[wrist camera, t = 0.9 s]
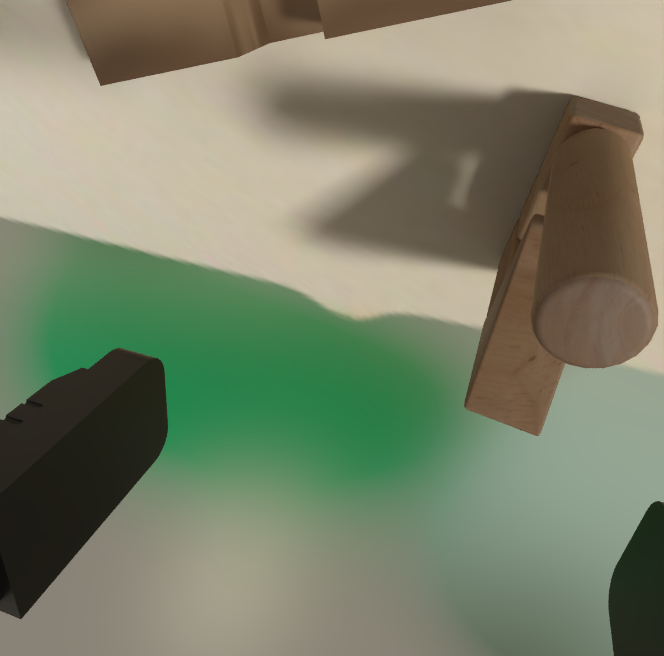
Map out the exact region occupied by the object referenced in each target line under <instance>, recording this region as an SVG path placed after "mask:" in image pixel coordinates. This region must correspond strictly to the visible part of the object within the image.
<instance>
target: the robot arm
mask: <svg viewBox="0 0 664 656" xmlns="http://www.w3.org/2000/svg"><path fill="white" fill-rule="evenodd" d="M167 432H168V418H167V403H166V389H165V373H164V367H163V363H162V362H161V360H159V359H158V358H153V357H151V356H147V355H143V354H140V353H136V352H133V351H129V350H126V349H122V348H117V349H114V350H112V351H111V352H109V353H108V354H107V355H105V356H104V357H103V358H102V359H100V360H99V361H98V362H97V363H95V364H94V365H93V366H92V367H90V368H89V369H85V368H80V369H78V370H76V371H73V372H71V373H69V374H66V375H64V376H62V377H59V378H57V379H54V380H52V381H51V382H49V383H48V384H46V385H45V386H44V387H42V388H41V389H40V390H39V391H37V392H36V393H35V394H33V395H32V396H31V397H30V398H28V399H27V401H26V403H25V404H20V405H19V406H18V407H16V408H15V409H14V410H12V411H11V412H10V413H8V414H7V415H6V418H5V420H0V611H2V612H5V613H7V614H10V615H12V616H15V617H17V618H19V619H21V618H23V616H24V615H25V614H26V613H27V612H28V611H29V609H30V608H31V607H32V606H33V605H34V603H35V602H36V601H37V600H38V599H39V597H40V596H41V595H42V594H43V593H44V592H45V590H46V589H47V588H48V587H49V585H51V583H52V582H53V581H54V580H55V579H56V577H57V576H58V575H59V574H60V573H61V572H62V570H63V569H64V568H65V567H66V566H67V564H68V563H69V562H70V561H71V560H72V559H73V557H74V556H75V555H76V554H77V553H78V551H79V550H80V549H81V548H82V547H83V546H84V544H85V543H86V542H87V541H88V540H89V539H90V537H91V536H92V535H93V534H94V532H95V531H96V530H97V529H98V528H99V527H100V526H101V524H102V523H103V522H104V521H105V520H106V518H107V517H108V516H109V515H110V514H111V513H112V511H113V510H114V509H115V508H116V507H117V505H118V504H119V503H120V502H121V501H122V500H123V498H124V497H125V496H126V495H127V494H128V492H129V491H130V490H131V489H132V488H133V487H134V485H135V484H136V483H137V481H139V479H140V478H141V477H142V476H143V475H144V474H145V472H146V471H147V470H148V469H149V468H150V467H151V465H152V464H153V463H154V462H155V461H156V459H157V458H158V456H159V454H160V453H161V451H162V449H163V446H164V444H165V441H166V437H167ZM608 602H609V617H610V626H611V634H612V642H613V651H614V656H664V503H663V502H660V501H657V502H654V503H653V504H651V505H650V507H649V508H648V510H647V511H646V513H645V515H644V517H643V518H642V520H641V522H640V524H639V526H638V527H637V529H636V531H635V533H634V534H633V536H632V538H631V540H630V542H629V543H628V545H627V547H626V549H625V551H624V552H623V554H622V556H621V558H620V560H619V561H618V563H617V565H616V567H615V569H614V572H613V575H612V579H611V583H610V589H609V601H608Z"/></svg>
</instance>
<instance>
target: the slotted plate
mask: <svg viewBox="0 0 664 656" xmlns="http://www.w3.org/2000/svg"><path fill="white" fill-rule="evenodd" d="M506 1H511V0H66V2H67V5H68V7H69V9H70V12H71V14H72V17H73V19H74V22H75V24H76V27H77V29H78V31H79V34H80V36H81V39H82V41H83V44H84V46H85V49H86V51H87V54H88V56H89V58H90V61H91V63H92V66H93V68H94V71H95V73H96V76H97V78H98V80H99V83H100V85H101V86H102V85H107V84H112V83H116V82H121V81H126V80H131V79H136V78H140V77H145V76H150V75H155V74H160V73H165V72H169V71H174V70H179V69H184V68H189V67H193V66H198V65H203V64H208V63H213V62H217V61H222V60H227V59H232V58H237V57H240V56H242V55H244V54H246V53H249V52H251V51H253V50H255V49H258V48H260V47H262V46H264V45H267V44H269V43H272V42H277V41H281V40H286V39H291V38H295V37H300V36H305V35H309V34H314V33H319V32H323V31H324V36H325V39H328V38H333V37H338V36H342V35H347V34H352V33H357V32H362V31H366V30H371V29H376V28H381V27H386V26H391V25H395V24H400V23H405V22H410V21H415V20H419V19H424V18H429V17H434V16H439V15H443V14H448V13H453V12H458V11H463V10H467V9H472V8H477V7H482V6H487V5H492V4H496V3H501V2H506Z"/></svg>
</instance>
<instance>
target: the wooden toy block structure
mask: <svg viewBox="0 0 664 656" xmlns="http://www.w3.org/2000/svg"><path fill="white" fill-rule="evenodd" d="M643 134H644V133H643V129H642V125H641V121H640V117H639V115H638V114H637V113H635V112H631V111H628V110H624V109H621V108H617V107H613V106H610V105H606V104H603V103H599V102H596V101H592V100H589V99H585V98H581V97H573V98H572V99H571V100H570V101H569V103H568V106H567V108H566V110H565V112H564V115H563V117H562V119H561V122H560V124H559V126H558V129H557V131H556V133H555V136H554V138H553V140H552V142H551V145H550V147H549V149H548V152H547V154H546V156H545V159H544V161H543V163H542V165H541V168H540V170H539V172H538V175H537V177H536V179H535V182H534V184H533V186H532V189H531V191H530V193H529V195H528V198H527V200H526V202H525V205H524V207H523V209H522V212H521V216H520V219H519V220H518V221H517V223H516V225H515V228H514V230H513V232H512V235H511V237H510V239H509V241H508V244H507V246H506V248H505V251H504V253H503V255H502V258H501V260H500V264H499V268H498V272H497V276H496V280H495V284H494V288H493V292H492V296H491V300H490V305H489V309H488V313H487V318H486V320H485V322H484V325H483V329H482V333H481V337H480V342H479V346H478V350H477V354H476V358H475V362H474V366H473V370H472V374H471V378H470V382H469V386H468V390H467V394H466V398H465V404H464V407H465V408H466V409H467V410H470V411H473V412H475V413H478V414H481V415H483V416H486V417H488V418H491V419H494V420H496V421H499V422H501V423H504V424H507V425H509V426H512V427H515V428H517V429H520V430H523V431H525V432H528V433H530V434H533V435H536V436H539V434H540V433H541V431H542V428H543V425H544V422H545V419H546V416H547V414H548V411H549V408H550V405H551V402H552V399H553V396H554V394H555V391H556V388H557V385H558V382H559V379H560V376H561V373H562V370H563V368H564V365H565V363H567V364H570V365H574V366H579V367H583V368H605V367H609V366H614V365H618V364H621V363H623V362H625V361H627V360H629V359H631V358H633V357H635V356H636V355H638V354H639V353H640V352H641V351H642V350H643V349H644V348H645V347H646V346H647V345H648V344H649V342H650V341H651V339H652V337H653V335H654V333H655V331H656V328H657V326H658V307H657V301H656V295H655V289H654V283H653V277H652V271H651V265H650V259H649V254H648V248H647V242H646V236H645V230H644V224H643V218H642V212H641V207H640V201H639V195H638V189H637V183H636V177H635V171H634V165H633V159H632V158H633V156H634V155H635V153H636V151H637V149H638V147H639V145H640V143H641V142H642V140H643Z"/></svg>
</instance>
